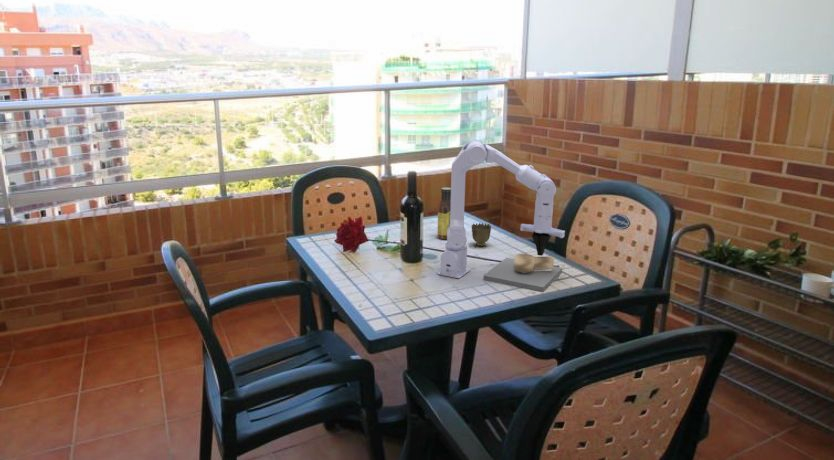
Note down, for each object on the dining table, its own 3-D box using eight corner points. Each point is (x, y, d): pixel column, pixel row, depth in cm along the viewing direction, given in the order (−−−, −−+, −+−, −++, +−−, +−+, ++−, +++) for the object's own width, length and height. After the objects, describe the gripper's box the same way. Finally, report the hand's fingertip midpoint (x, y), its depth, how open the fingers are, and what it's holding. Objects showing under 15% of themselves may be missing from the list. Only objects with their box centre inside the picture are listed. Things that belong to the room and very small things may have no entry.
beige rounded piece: (516, 272, 199) (516, 260, 197) (512, 265, 205) (513, 254, 204) (554, 271, 199) (555, 260, 198) (550, 265, 205) (550, 253, 204)
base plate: (543, 291, 189) (543, 285, 189) (483, 279, 199) (483, 273, 198) (562, 271, 206) (562, 266, 206) (506, 261, 216) (506, 256, 215)
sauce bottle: (452, 240, 238) (453, 190, 232) (436, 239, 239) (436, 190, 234) (454, 235, 244) (455, 187, 238) (438, 234, 245) (439, 186, 240)
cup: (491, 248, 229) (492, 228, 227) (471, 248, 229) (472, 228, 227) (489, 242, 236) (490, 222, 234) (470, 242, 236) (471, 222, 234)
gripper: (517, 214, 199) (515, 253, 203) (560, 221, 192) (557, 262, 196) (526, 209, 205) (523, 248, 209) (568, 216, 198) (564, 256, 201)
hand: (540, 254), depth 203 cm, fingers closed
